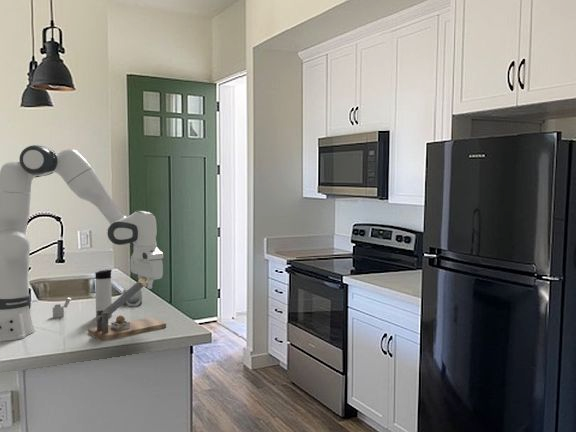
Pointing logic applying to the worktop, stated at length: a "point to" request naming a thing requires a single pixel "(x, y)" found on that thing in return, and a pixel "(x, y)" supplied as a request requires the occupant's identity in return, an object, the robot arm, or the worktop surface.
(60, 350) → the worktop surface
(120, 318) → the walnut
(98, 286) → the travel mug
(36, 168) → the robot arm
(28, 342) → the worktop surface
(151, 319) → the nutcracker base
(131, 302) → the ceramic mug
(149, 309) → the worktop surface
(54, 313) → the lighter
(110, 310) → the lever
